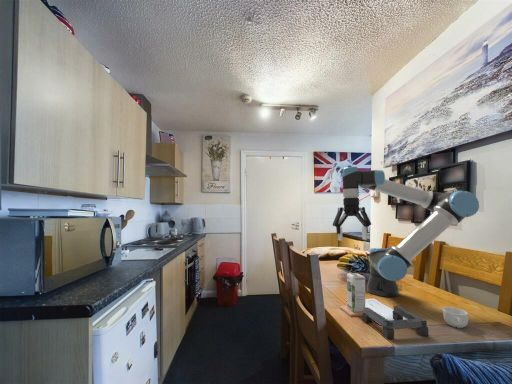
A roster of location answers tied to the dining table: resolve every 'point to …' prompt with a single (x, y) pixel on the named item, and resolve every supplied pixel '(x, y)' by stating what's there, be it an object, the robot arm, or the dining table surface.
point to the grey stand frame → (396, 321)
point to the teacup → (455, 317)
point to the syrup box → (355, 292)
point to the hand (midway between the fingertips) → (352, 240)
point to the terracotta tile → (351, 311)
